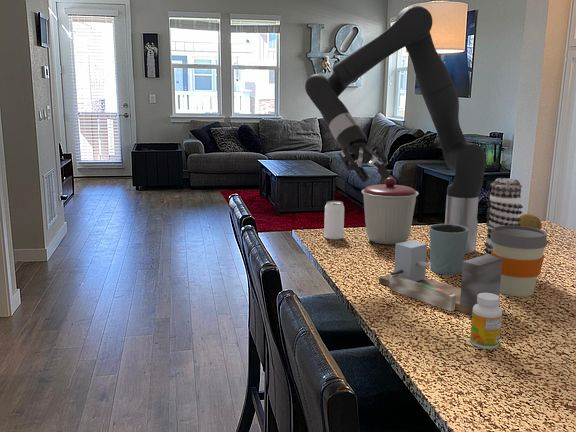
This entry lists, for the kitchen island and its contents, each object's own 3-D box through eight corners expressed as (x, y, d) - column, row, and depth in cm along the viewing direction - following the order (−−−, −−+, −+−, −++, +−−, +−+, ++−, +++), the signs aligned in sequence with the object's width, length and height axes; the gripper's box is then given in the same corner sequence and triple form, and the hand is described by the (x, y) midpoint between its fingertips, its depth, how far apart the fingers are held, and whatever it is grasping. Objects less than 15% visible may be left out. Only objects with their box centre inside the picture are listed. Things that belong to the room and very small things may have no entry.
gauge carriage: (383, 281, 139) (385, 246, 137) (409, 273, 145) (411, 240, 143) (409, 290, 133) (411, 253, 131) (435, 282, 139) (437, 246, 137)
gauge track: (374, 284, 143) (375, 240, 140) (402, 276, 149) (404, 233, 147) (470, 318, 121) (474, 267, 119) (498, 307, 128) (502, 258, 125)
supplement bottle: (465, 338, 111) (469, 291, 109) (491, 337, 112) (495, 290, 110) (476, 350, 106) (480, 301, 104) (504, 349, 107) (508, 300, 105)
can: (342, 240, 185) (343, 204, 182) (322, 239, 186) (323, 203, 184) (344, 235, 191) (345, 201, 189) (325, 234, 192) (326, 200, 190)
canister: (375, 231, 197) (377, 172, 193) (424, 239, 187) (428, 176, 182) (349, 242, 183) (351, 178, 178) (401, 251, 172) (404, 183, 168)
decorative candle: (475, 268, 156) (483, 179, 151) (489, 261, 162) (497, 175, 157) (508, 276, 150) (517, 183, 144) (521, 268, 156) (530, 179, 151)
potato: (512, 234, 195) (514, 211, 193) (535, 235, 194) (537, 212, 192) (517, 239, 188) (519, 215, 187) (541, 240, 187) (543, 216, 186)
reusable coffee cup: (536, 302, 131) (543, 240, 127) (481, 292, 137) (486, 232, 134) (545, 287, 141) (551, 229, 138) (493, 278, 148) (498, 223, 144)
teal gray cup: (465, 267, 157) (469, 225, 155) (464, 277, 148) (468, 233, 146) (428, 263, 161) (431, 222, 158) (425, 273, 151) (427, 230, 149)
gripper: (336, 124, 150) (367, 172, 144) (372, 123, 159) (402, 168, 153) (322, 143, 155) (351, 190, 149) (357, 141, 164) (385, 185, 158)
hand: (377, 179), depth 151 cm, fingers open, 8 cm apart
